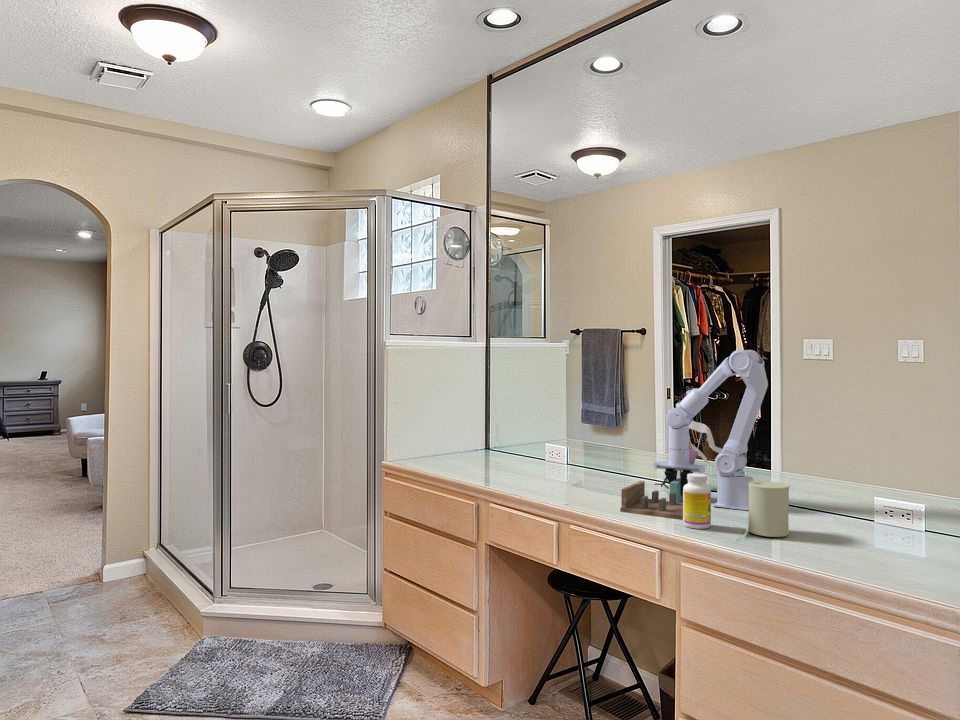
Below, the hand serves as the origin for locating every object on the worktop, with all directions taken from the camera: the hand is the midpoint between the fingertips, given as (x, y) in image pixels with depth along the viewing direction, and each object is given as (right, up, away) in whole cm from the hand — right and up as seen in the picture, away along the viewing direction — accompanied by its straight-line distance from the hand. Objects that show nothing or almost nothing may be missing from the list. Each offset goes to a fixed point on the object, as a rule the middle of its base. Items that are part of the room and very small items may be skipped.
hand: (678, 495), depth 202 cm
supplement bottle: (-4, -2, -31) cm, 31 cm away
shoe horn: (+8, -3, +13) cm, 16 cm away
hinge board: (-8, -2, -13) cm, 15 cm away
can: (+11, -2, -36) cm, 38 cm away
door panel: (0, -2, 0) cm, 2 cm away
